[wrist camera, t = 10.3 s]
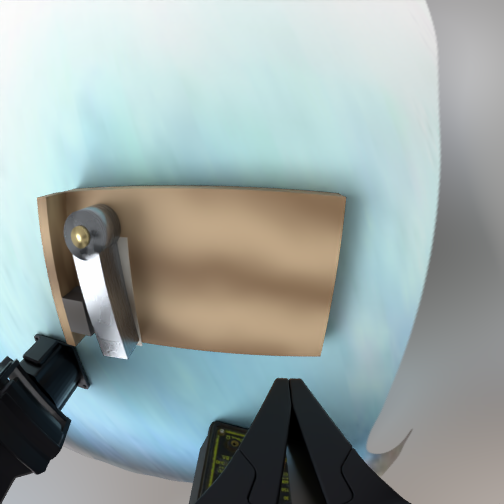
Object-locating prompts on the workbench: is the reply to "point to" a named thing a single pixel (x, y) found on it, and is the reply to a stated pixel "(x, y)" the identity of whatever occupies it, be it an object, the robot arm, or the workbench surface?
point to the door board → (209, 264)
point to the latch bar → (102, 277)
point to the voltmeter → (225, 460)
